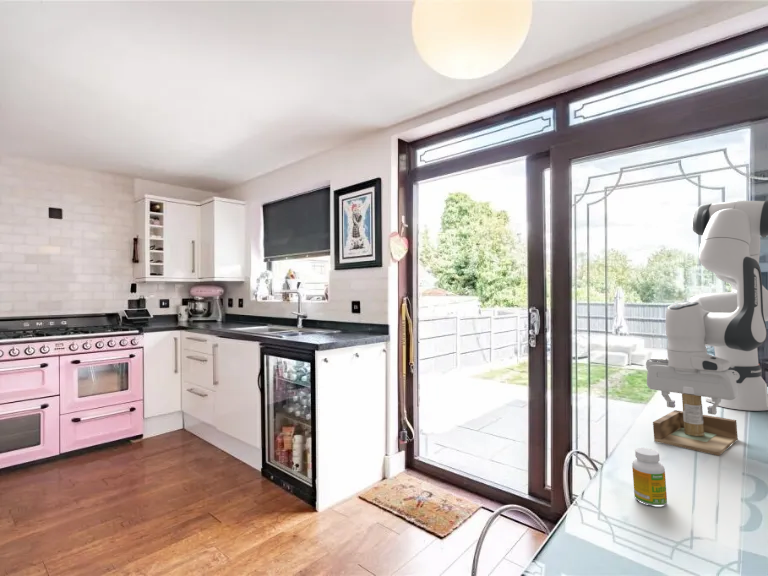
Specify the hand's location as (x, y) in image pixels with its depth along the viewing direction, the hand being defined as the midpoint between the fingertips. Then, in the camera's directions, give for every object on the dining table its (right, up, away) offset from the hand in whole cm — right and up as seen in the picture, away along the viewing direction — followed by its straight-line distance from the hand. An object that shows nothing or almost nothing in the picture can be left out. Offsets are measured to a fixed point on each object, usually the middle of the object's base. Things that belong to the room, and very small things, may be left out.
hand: (691, 410), depth 110 cm
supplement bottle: (-33, -8, -32) cm, 46 cm away
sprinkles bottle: (+1, -7, 0) cm, 7 cm away
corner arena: (-1, -7, -2) cm, 8 cm away
